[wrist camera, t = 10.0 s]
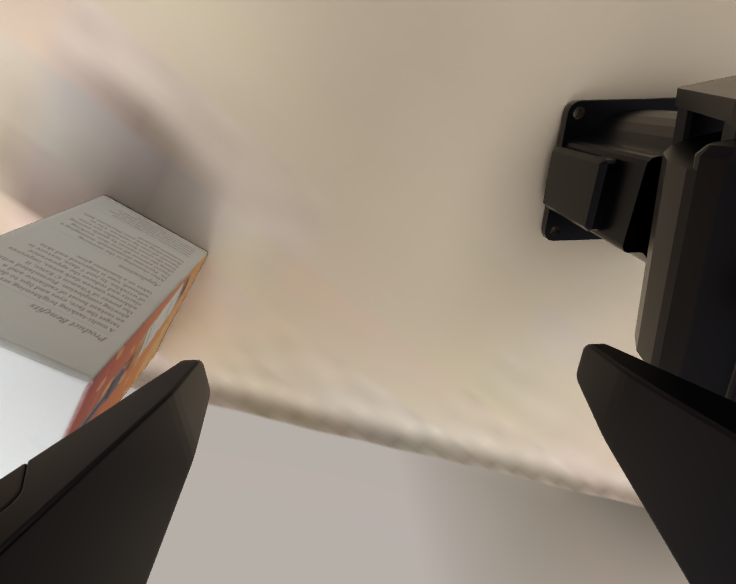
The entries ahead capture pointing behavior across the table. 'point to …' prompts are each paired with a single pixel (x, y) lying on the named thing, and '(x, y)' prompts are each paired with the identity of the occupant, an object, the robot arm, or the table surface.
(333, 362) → the table surface
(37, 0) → the table surface
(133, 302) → the small box
